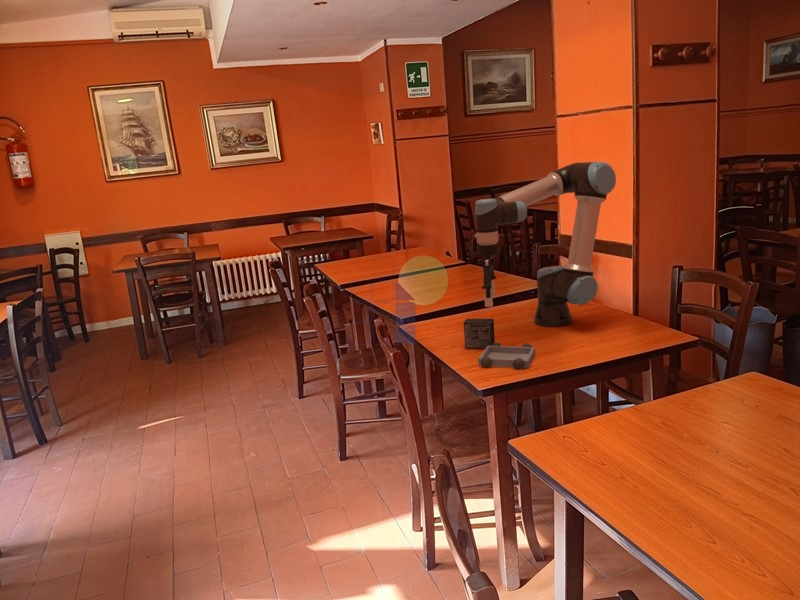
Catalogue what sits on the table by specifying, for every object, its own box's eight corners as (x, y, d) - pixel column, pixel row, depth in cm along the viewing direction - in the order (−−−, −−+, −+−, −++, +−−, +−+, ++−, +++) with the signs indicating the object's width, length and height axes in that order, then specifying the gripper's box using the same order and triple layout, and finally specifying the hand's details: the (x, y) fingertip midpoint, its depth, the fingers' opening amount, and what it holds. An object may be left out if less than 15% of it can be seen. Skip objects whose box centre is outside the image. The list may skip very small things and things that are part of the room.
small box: (495, 344, 227) (494, 317, 224) (492, 350, 221) (491, 322, 219) (468, 343, 231) (466, 317, 228) (464, 349, 225) (462, 322, 222)
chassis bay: (489, 351, 220) (488, 341, 219) (535, 353, 213) (535, 343, 213) (477, 367, 205) (476, 357, 204) (527, 370, 198) (527, 359, 198)
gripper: (479, 238, 225) (482, 293, 230) (473, 249, 201) (476, 310, 206) (500, 237, 223) (502, 292, 228) (496, 248, 200) (498, 310, 205)
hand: (490, 301), depth 217 cm, fingers open, 13 cm apart
